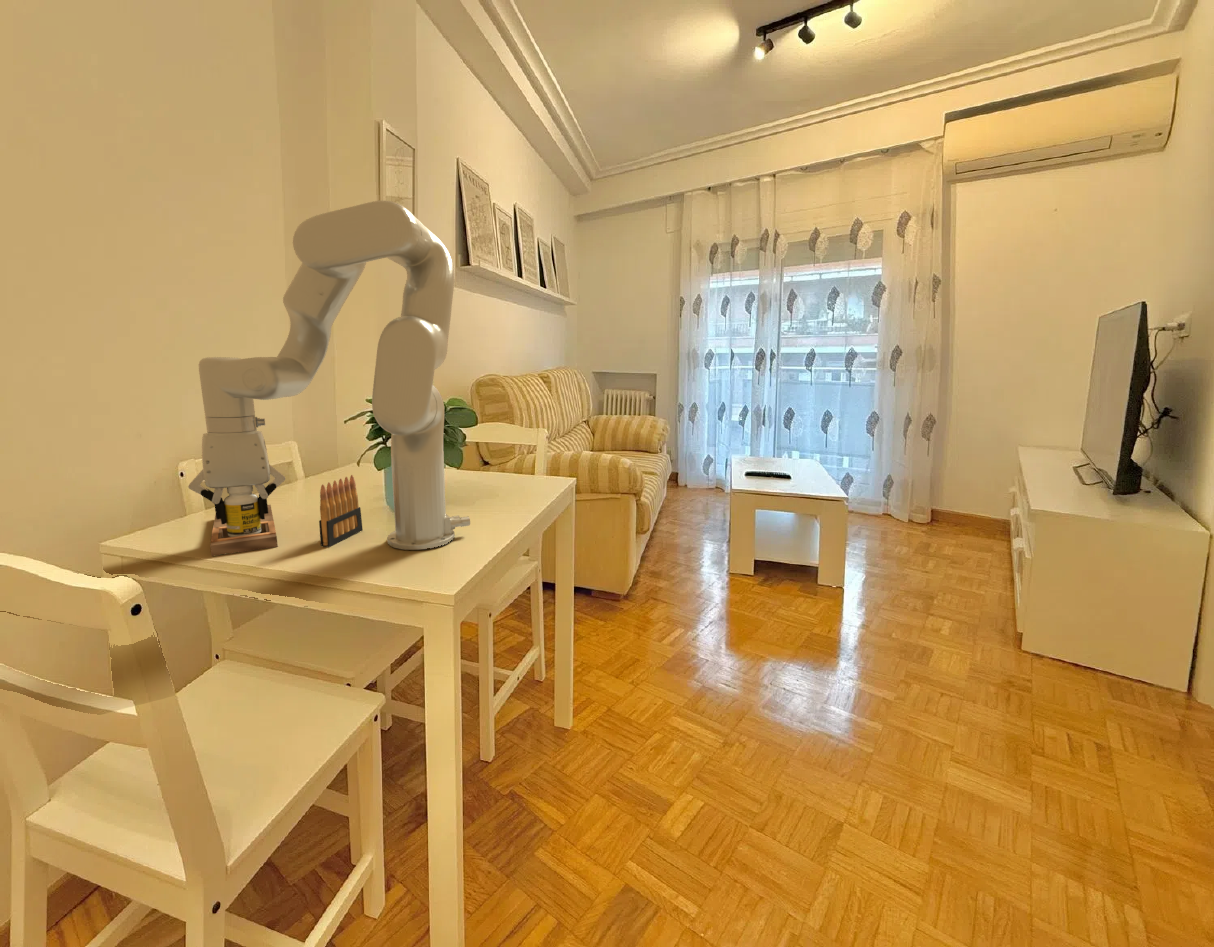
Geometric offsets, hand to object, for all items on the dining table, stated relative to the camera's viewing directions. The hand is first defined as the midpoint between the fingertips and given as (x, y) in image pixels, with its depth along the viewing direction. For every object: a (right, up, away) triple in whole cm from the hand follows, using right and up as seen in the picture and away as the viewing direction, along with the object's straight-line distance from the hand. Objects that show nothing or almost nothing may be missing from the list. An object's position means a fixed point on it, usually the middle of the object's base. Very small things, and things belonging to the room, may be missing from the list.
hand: (243, 519), depth 100 cm
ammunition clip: (+17, -4, +4) cm, 18 cm away
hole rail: (-4, -3, +6) cm, 8 cm away
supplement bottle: (0, -3, +1) cm, 3 cm away
